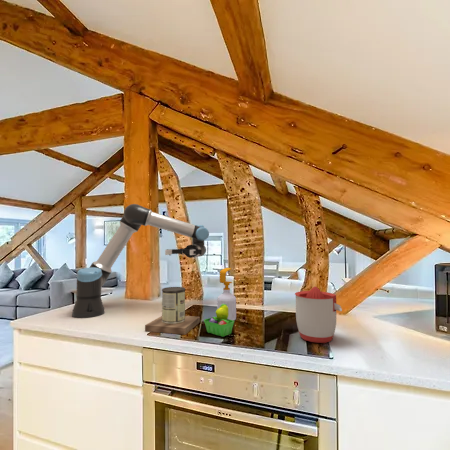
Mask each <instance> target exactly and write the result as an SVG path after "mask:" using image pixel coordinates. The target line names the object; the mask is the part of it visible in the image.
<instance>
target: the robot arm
mask: <svg viewBox="0 0 450 450" xmlns="http://www.w3.org/2000/svg"><path fill="white" fill-rule="evenodd" d="M141 226H144V227H146V226H151V227H154V228H158V229H161V230H164V231H167V232H171V233H174V234H178V235H181V236H185V237H188V238H191V239H192V242H191V243H192V244H188V245H186V246H185V247H184V248H177V249H176V248H172V249H165V250H164V254H165V256H168V255H169V256H172V255H182V256H183V255H185V256H186V257H187V258H191V259H192V258H193V259H195V258H198V257H203V256H204V255H205V254H206V253H207V247H206V246H205V240H207V239H208V238H209V235H210V232H209V229H207V227H205V225H203V224H200V225H199V224H196V225H195V224H192V223H190V222H186V221H183V220H180V219H177V218H173V217H170V216H167V215H163V214H160V213H157V212H155V211H152V209H150V208H148V207H147V208H146V207H144V206H142V205H139V204H137V203H133V204H132V203H131V204H128V205H127V206H126V207H125V209H124V211H123V215H122V217H121V218H120V221H119V227H118V228H117V230H116V231H115V233H114V234H113V236H112V237H111V239H110V240H109V242H108V243H107V245H106V246H105V248H104V250H103V251H102V252H101V254H100V256H99V257H98V259H97V260H96V261H95V260H94V261H92V263H91V265H90V266H89V267H85V268H80V269H79V270H78V271H77V272H76V273H77V274H76V300H75V303H74V304H73V309H72V311H71V317H73V318H76V319H77V318H81V319H83V318H93V317H94V318H95V317H97V316H101V315H104V314H105V307H104V303H103V300H102V287H103V286H104V285H105V284H107V281H108V279H109V277H110V276H111V273H112V267H113V265H114V264H115V262H117V261H116V260H117V259H118V258H119V256H120V255H121V253H122V251H123V250H124V248H125V247H126V245H127V243H128V242H129V240H130V239H131V237H132V236H133V234H134V233H137V232H139V230H140V228H141Z"/></svg>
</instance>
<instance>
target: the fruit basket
mask: <svg viewBox="0 0 450 450" xmlns="http://www.w3.org/2000/svg"><path fill="white" fill-rule="evenodd" d="M215 314H216V316H211V317H208V318H205V319H204V320H203V323H204V324H205V328H206V332H207V333H208V334H212V335H216V336H220V337H225V336H226V337H227V336H228V335H231V334H232V331H233V327H234V324H235V320H234V321H233V320H229V319H227V318H228V315H229V314H228V307H227V305H226V304H222V305H221V306H220V308H218V309H216V310H215Z"/></svg>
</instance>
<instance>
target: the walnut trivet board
mask: <svg viewBox="0 0 450 450" xmlns="http://www.w3.org/2000/svg"><path fill="white" fill-rule="evenodd" d="M200 317H201V316H194V315H193V316H192V315H185V321H184V322H181V323H176V324H166V323H163V322H162V315H160V316H159V317H157V318H155V319H153V320H152V321H150V322H148V323H146V324H144V332H150V333H160V332H163V333H162V334H171V333H172V334H173V335H186V334H188V332H190V331H191V330H192V329H194V328H195V327H196V326H198V324H199V323H200V322H201V321H200V320H201V319H200ZM172 334H171V335H172Z"/></svg>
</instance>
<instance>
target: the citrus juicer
mask: <svg viewBox="0 0 450 450" xmlns="http://www.w3.org/2000/svg"><path fill="white" fill-rule="evenodd" d="M294 295H295V318H296V319H295V321H296V326H297V329H298V333H299V335H300V338H301V339H303V340H304V341H306V342H307V341H308V342H310V343H321V344H326V343H329V342H331V341H333V338H334V336H335V331H336V328H337V327H336V326H337V311H338V312H342V311H343V308H342V306H341V305H340V304H338V303H337V294H335V293H331V292H327V291H321V290H320V289H319V288H318V287H317V286H313V287H311V289H310V290H303V291H302V290H300V291H296V292H295V293H294Z"/></svg>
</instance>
